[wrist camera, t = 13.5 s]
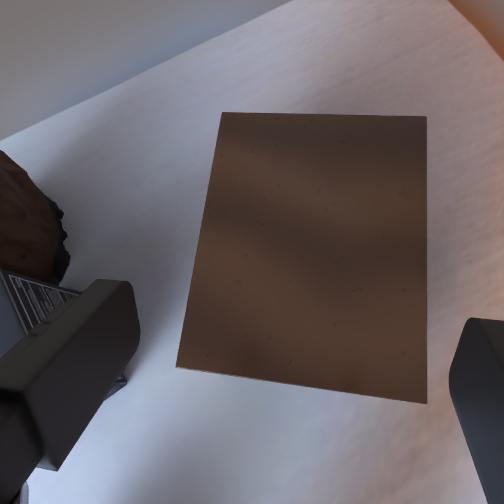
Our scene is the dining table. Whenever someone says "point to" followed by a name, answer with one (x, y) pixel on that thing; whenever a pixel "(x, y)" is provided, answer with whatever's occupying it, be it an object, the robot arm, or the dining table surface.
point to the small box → (30, 309)
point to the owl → (29, 227)
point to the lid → (314, 255)
